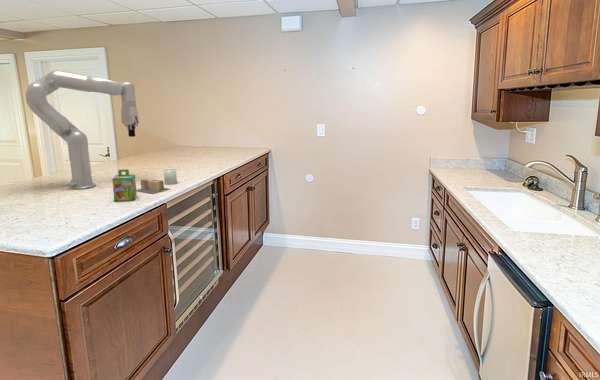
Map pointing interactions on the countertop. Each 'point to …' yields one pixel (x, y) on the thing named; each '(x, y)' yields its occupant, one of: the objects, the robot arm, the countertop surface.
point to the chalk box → (124, 186)
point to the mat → (151, 191)
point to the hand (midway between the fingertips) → (132, 136)
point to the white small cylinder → (170, 176)
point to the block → (152, 184)
